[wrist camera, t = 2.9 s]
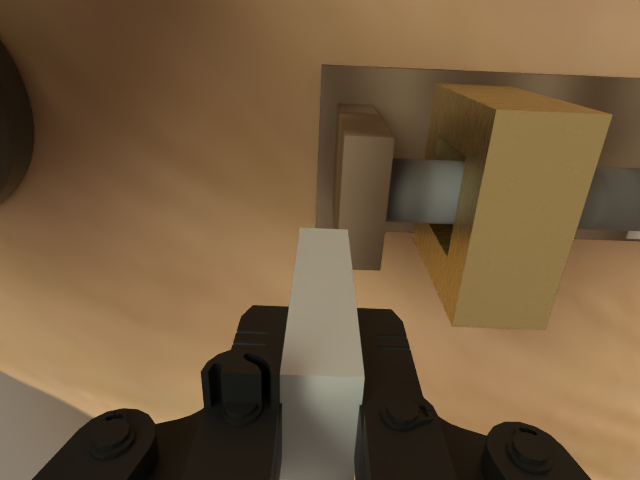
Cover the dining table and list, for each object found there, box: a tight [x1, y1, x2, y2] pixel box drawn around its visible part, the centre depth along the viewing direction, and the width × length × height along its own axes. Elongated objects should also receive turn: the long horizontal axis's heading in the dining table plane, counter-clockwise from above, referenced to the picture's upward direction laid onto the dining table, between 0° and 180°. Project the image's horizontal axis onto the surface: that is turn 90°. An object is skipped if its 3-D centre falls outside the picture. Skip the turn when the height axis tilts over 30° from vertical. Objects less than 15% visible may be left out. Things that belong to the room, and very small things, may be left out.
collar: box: [413, 83, 613, 330], centre depth 21 cm, size 4×9×9 cm, turn 178°
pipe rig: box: [316, 65, 640, 270], centre depth 23 cm, size 30×10×10 cm, turn 88°
